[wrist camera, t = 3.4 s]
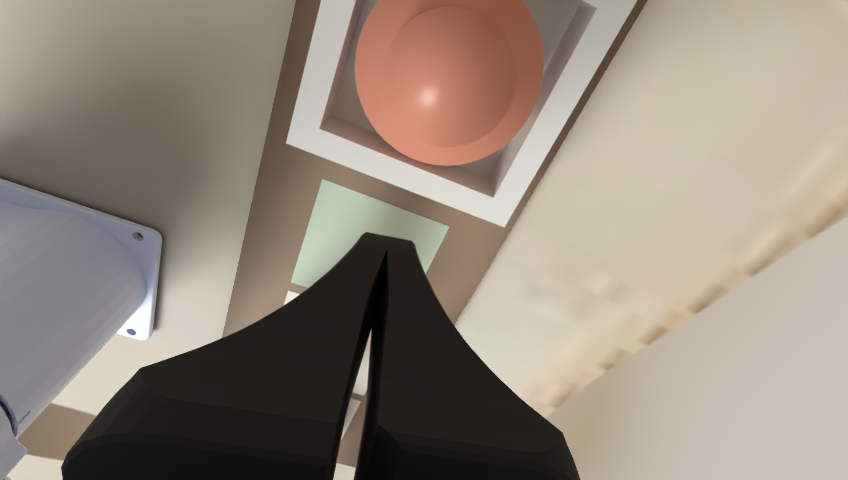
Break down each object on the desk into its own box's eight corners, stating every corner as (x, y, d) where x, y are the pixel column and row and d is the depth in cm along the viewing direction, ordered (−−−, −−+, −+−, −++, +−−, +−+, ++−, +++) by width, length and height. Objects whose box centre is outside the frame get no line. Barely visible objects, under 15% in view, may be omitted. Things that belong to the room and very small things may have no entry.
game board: (206, 420, 30) (202, 428, 29) (339, -172, 14) (335, -178, 13) (368, 462, 32) (367, 470, 31) (645, -9, 16) (652, -9, 15)
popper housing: (307, 121, 18) (285, 143, 15) (375, -134, 14) (361, -164, 11) (495, 196, 20) (504, 227, 17) (609, -12, 15) (644, -13, 13)
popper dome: (343, 112, 16) (326, 135, 14) (398, -67, 13) (389, -81, 11) (484, 169, 17) (493, 201, 15) (563, 15, 14) (592, 21, 12)
